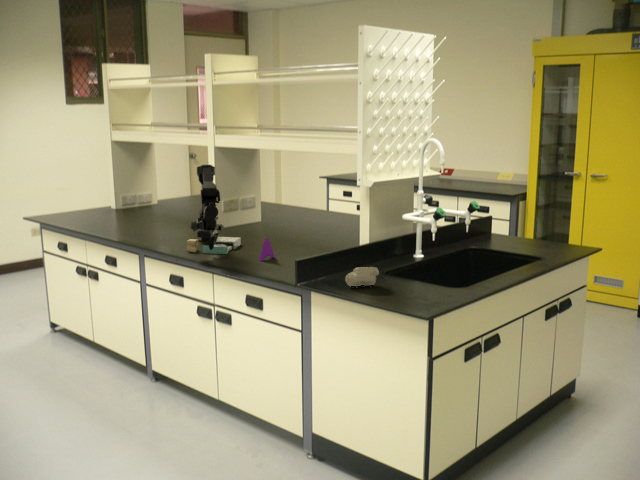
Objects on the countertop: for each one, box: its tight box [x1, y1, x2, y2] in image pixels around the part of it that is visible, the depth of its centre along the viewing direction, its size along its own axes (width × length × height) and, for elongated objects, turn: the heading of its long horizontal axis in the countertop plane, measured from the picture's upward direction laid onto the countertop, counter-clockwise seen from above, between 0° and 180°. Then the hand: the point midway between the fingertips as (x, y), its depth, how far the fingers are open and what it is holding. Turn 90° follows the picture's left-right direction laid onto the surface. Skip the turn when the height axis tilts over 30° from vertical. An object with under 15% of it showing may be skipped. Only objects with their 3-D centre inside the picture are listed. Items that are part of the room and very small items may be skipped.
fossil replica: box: [345, 266, 380, 287], centre depth 223 cm, size 12×8×10 cm
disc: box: [214, 244, 227, 247], centre depth 280 cm, size 6×6×2 cm
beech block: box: [186, 238, 199, 253], centre depth 280 cm, size 4×4×5 cm
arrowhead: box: [258, 237, 276, 262], centre depth 264 cm, size 10×2×10 cm
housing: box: [215, 236, 242, 250], centre depth 290 cm, size 10×12×4 cm
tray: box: [202, 245, 233, 255], centre depth 280 cm, size 10×12×3 cm
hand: (211, 249), depth 270 cm, fingers closed
